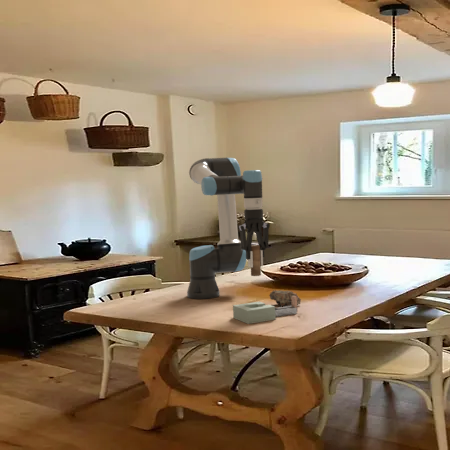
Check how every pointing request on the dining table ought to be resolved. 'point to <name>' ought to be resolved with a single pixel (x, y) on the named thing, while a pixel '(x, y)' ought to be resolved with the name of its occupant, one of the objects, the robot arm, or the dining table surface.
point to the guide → (285, 312)
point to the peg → (256, 261)
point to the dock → (254, 312)
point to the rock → (284, 297)
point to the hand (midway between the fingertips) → (255, 266)
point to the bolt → (294, 304)
